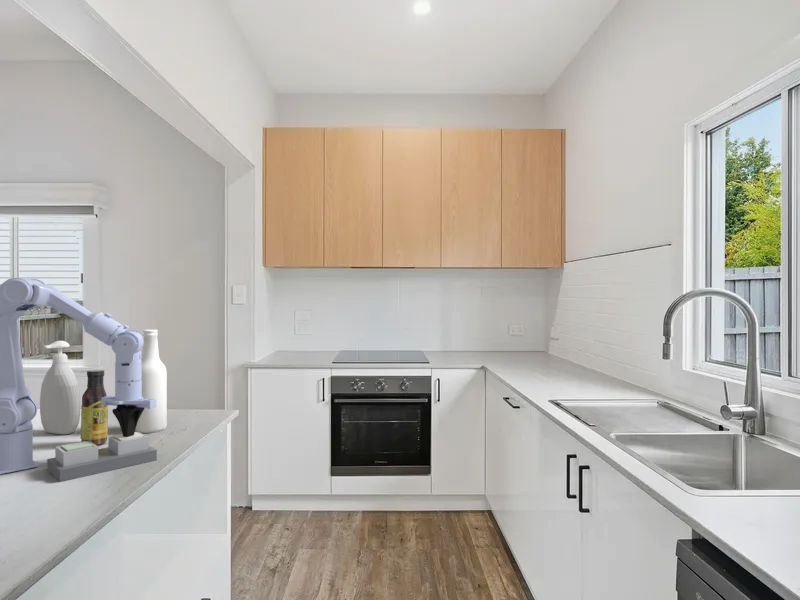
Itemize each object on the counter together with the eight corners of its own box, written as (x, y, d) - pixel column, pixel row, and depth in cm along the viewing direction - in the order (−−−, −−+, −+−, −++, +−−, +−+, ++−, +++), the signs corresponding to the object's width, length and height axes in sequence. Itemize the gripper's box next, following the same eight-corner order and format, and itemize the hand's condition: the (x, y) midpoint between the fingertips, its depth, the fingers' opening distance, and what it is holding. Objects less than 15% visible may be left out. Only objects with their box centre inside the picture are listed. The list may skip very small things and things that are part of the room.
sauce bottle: (95, 448, 133) (94, 372, 133) (74, 446, 134) (74, 371, 134) (113, 441, 140) (113, 369, 139) (94, 439, 141) (94, 368, 141)
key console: (47, 469, 116) (47, 445, 116) (139, 450, 131) (139, 429, 131) (60, 481, 109) (60, 456, 109) (156, 460, 123) (156, 437, 123)
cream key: (113, 442, 124) (113, 435, 124) (135, 438, 127) (135, 431, 127) (121, 446, 120) (121, 439, 120) (143, 442, 124) (143, 435, 124)
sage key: (61, 452, 116) (61, 445, 116) (85, 447, 119) (85, 440, 119) (67, 457, 112) (67, 449, 112) (92, 452, 116) (92, 445, 116)
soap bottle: (26, 434, 146) (25, 341, 146) (53, 427, 154) (53, 339, 154) (62, 439, 141) (61, 342, 141) (88, 432, 149) (88, 340, 149)
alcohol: (171, 429, 152) (171, 329, 151) (140, 435, 145) (140, 331, 145) (159, 424, 158) (159, 328, 157) (129, 430, 151) (129, 329, 151)
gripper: (90, 381, 122) (90, 438, 122) (140, 384, 118) (140, 442, 118) (114, 377, 128) (114, 430, 129) (162, 379, 125) (162, 434, 125)
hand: (128, 436), depth 124 cm, fingers closed, pressing on cream key
